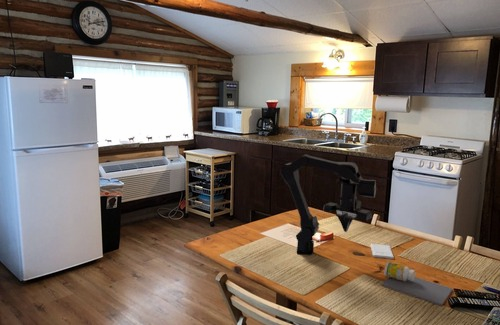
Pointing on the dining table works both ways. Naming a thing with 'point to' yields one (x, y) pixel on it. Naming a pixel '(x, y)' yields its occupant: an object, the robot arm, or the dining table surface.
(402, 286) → the mat
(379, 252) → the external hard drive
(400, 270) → the supplement bottle
